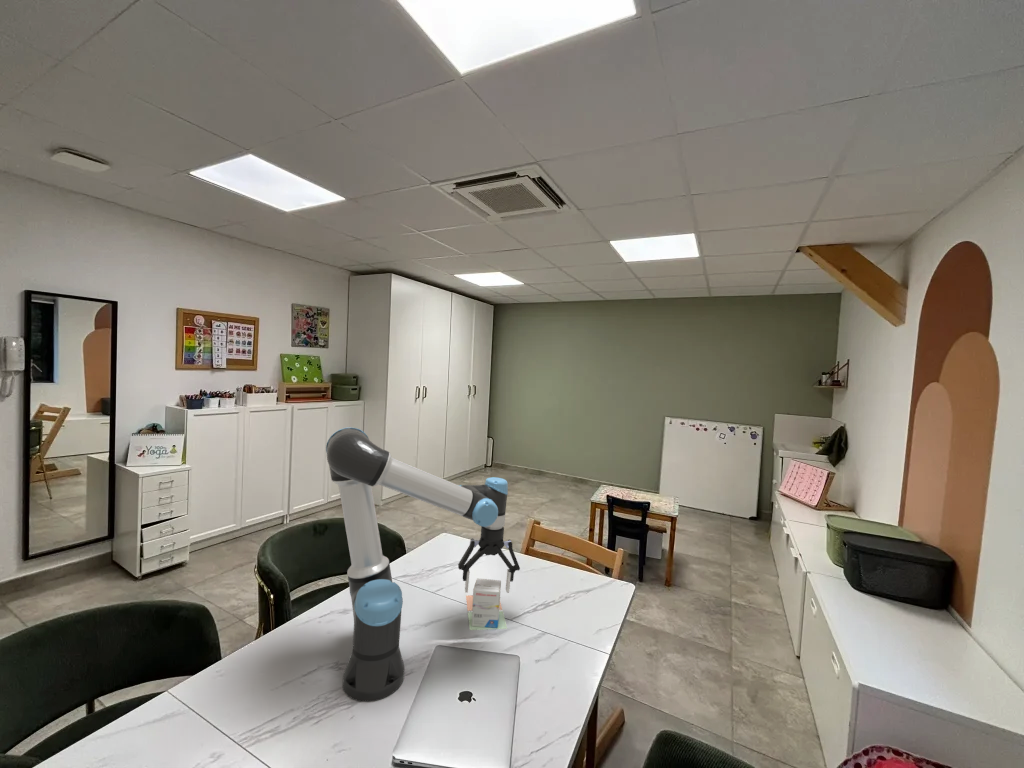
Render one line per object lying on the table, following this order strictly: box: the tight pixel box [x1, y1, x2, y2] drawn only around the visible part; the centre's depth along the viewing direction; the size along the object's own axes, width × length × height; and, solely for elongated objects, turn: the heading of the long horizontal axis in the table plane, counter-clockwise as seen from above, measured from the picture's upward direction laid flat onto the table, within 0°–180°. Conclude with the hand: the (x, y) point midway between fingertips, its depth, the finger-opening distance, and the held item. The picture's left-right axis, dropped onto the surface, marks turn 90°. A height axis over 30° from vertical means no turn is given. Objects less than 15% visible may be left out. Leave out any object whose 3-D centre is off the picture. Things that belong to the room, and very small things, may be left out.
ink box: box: [471, 578, 502, 628], centre depth 133 cm, size 9×8×12 cm
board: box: [465, 594, 508, 631], centre depth 139 cm, size 22×14×1 cm, turn 10°
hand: (487, 590), depth 133 cm, fingers open, 13 cm apart
